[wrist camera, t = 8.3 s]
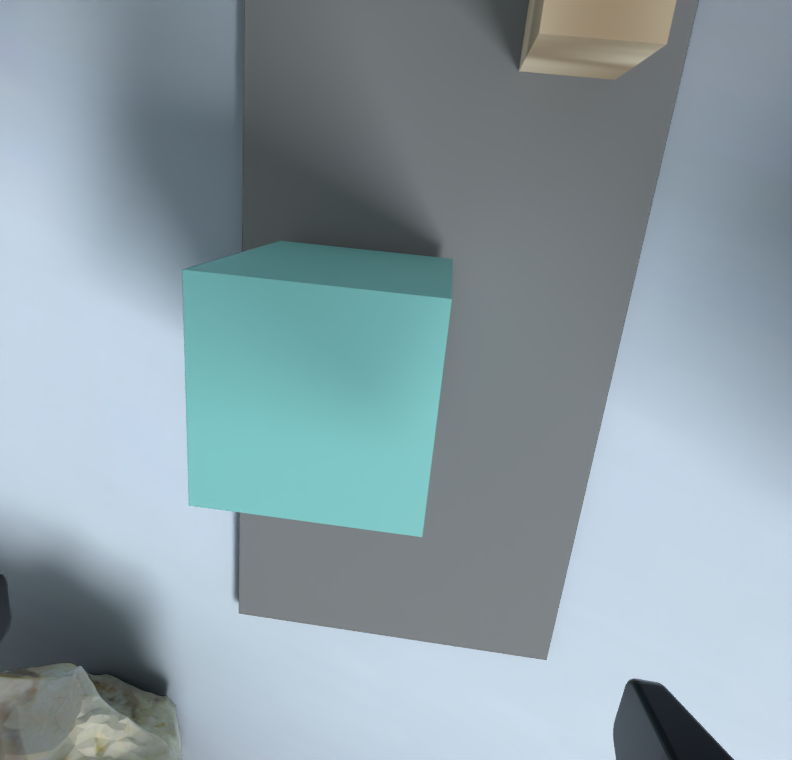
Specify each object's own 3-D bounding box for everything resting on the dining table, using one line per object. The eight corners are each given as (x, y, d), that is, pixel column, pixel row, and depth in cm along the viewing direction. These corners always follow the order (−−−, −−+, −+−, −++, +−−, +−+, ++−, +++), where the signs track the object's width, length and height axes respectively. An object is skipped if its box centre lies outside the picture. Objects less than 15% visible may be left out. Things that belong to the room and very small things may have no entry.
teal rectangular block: (453, 258, 17) (451, 299, 11) (433, 420, 19) (421, 537, 12) (281, 240, 17) (181, 269, 11) (276, 401, 19) (188, 505, 13)
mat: (728, -151, 14) (736, -161, 14) (544, 652, 22) (546, 660, 22) (252, -182, 15) (246, -191, 14) (242, 606, 23) (238, 613, 22)
